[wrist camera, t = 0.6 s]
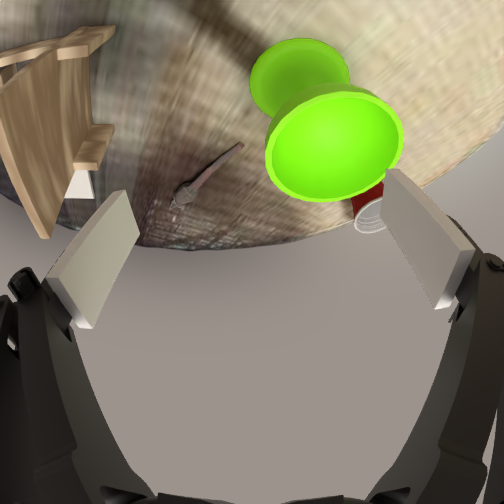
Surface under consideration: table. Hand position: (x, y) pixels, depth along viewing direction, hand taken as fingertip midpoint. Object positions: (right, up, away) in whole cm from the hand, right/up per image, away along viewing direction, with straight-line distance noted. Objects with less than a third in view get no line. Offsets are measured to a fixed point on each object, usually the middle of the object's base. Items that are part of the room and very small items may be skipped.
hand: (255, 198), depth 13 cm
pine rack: (-32, +24, +15) cm, 43 cm away
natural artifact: (-10, +12, +40) cm, 43 cm away
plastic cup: (+23, +14, +42) cm, 50 cm away
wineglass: (+7, +23, +23) cm, 34 cm away
